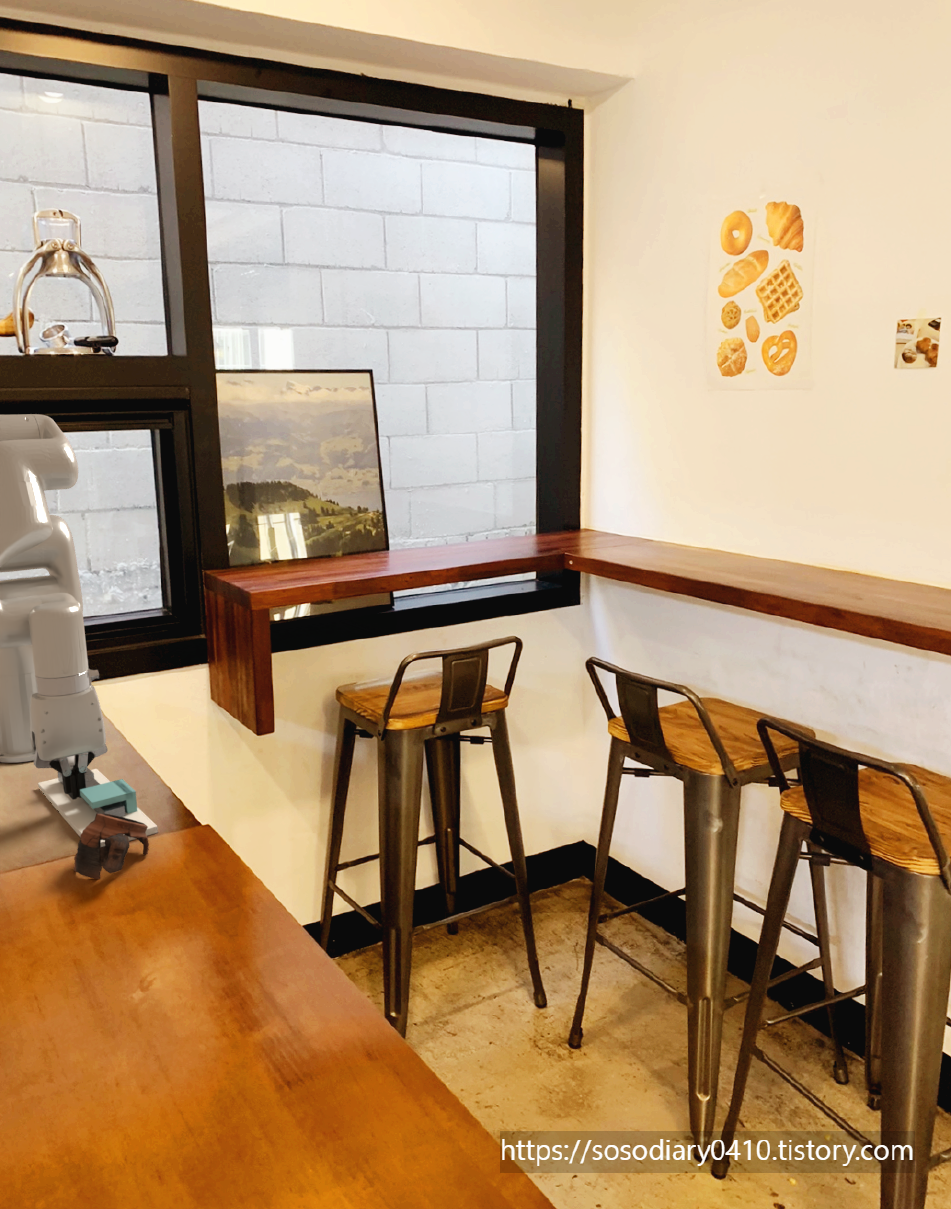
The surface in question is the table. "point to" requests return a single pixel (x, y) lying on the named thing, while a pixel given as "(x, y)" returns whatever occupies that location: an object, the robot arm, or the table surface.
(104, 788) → the keeper bracket
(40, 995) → the table surface
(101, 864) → the brown two-tone legged part
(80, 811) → the base plank
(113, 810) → the swing link
